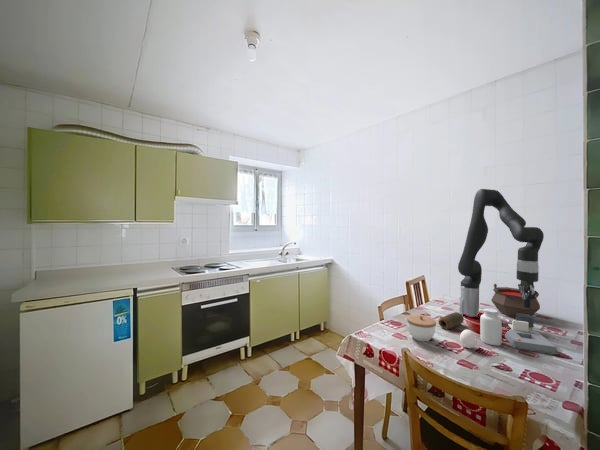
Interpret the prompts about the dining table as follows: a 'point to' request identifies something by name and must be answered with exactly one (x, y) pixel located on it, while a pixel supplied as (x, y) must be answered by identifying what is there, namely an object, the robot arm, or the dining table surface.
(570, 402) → the dining table surface
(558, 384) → the dining table surface
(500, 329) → the pill bottle
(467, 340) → the egg
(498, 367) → the dining table surface
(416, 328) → the lidded bowl
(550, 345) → the socket
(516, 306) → the brown cauldron
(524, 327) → the white l-shaped bracket
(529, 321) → the plug
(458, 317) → the olive brown hollow cylinder
